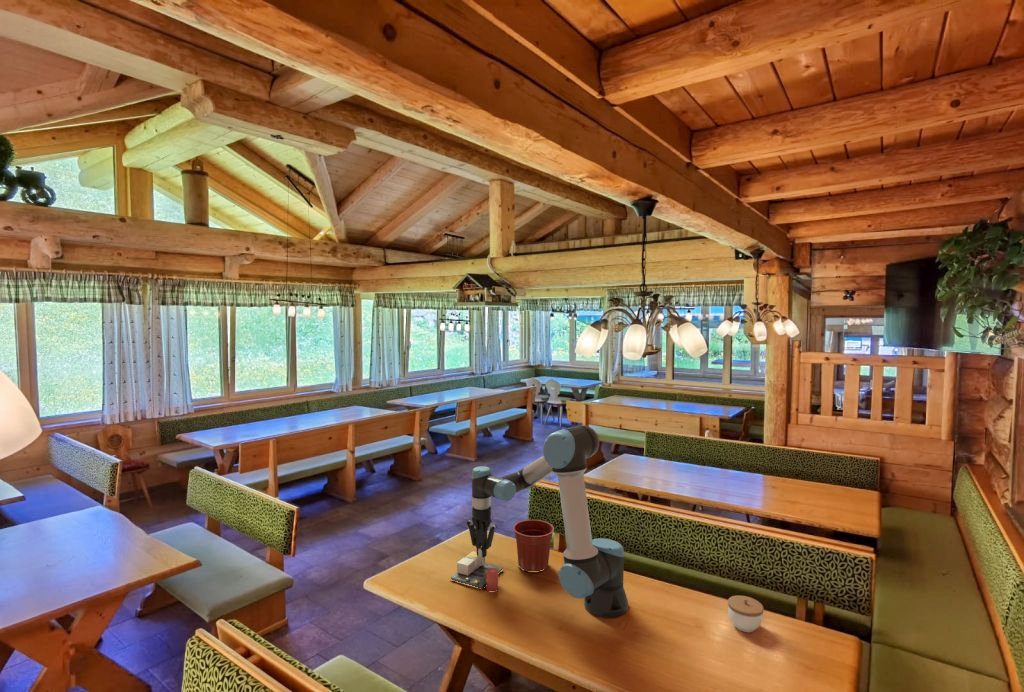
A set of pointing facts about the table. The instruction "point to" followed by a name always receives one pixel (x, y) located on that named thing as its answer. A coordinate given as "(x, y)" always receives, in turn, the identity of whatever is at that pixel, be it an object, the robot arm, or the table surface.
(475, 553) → the block
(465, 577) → the panel
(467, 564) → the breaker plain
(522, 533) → the flower pot
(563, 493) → the robot arm
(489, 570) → the lockout cap
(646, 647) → the table surface
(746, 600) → the lidded jar
